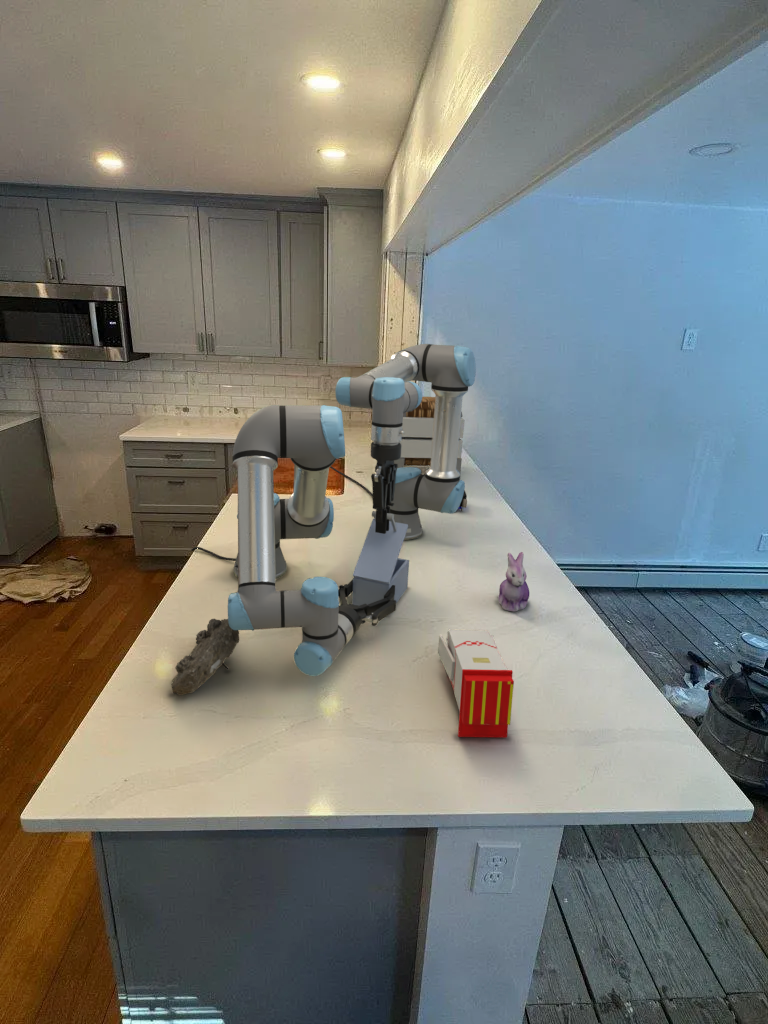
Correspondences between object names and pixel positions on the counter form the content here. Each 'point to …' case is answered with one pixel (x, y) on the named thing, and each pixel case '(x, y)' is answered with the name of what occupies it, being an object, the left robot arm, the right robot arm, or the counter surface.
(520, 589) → the figurine
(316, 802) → the counter surface
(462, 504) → the figurine character
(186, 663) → the fossil
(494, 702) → the toy
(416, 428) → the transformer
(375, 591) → the chest
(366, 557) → the lid
